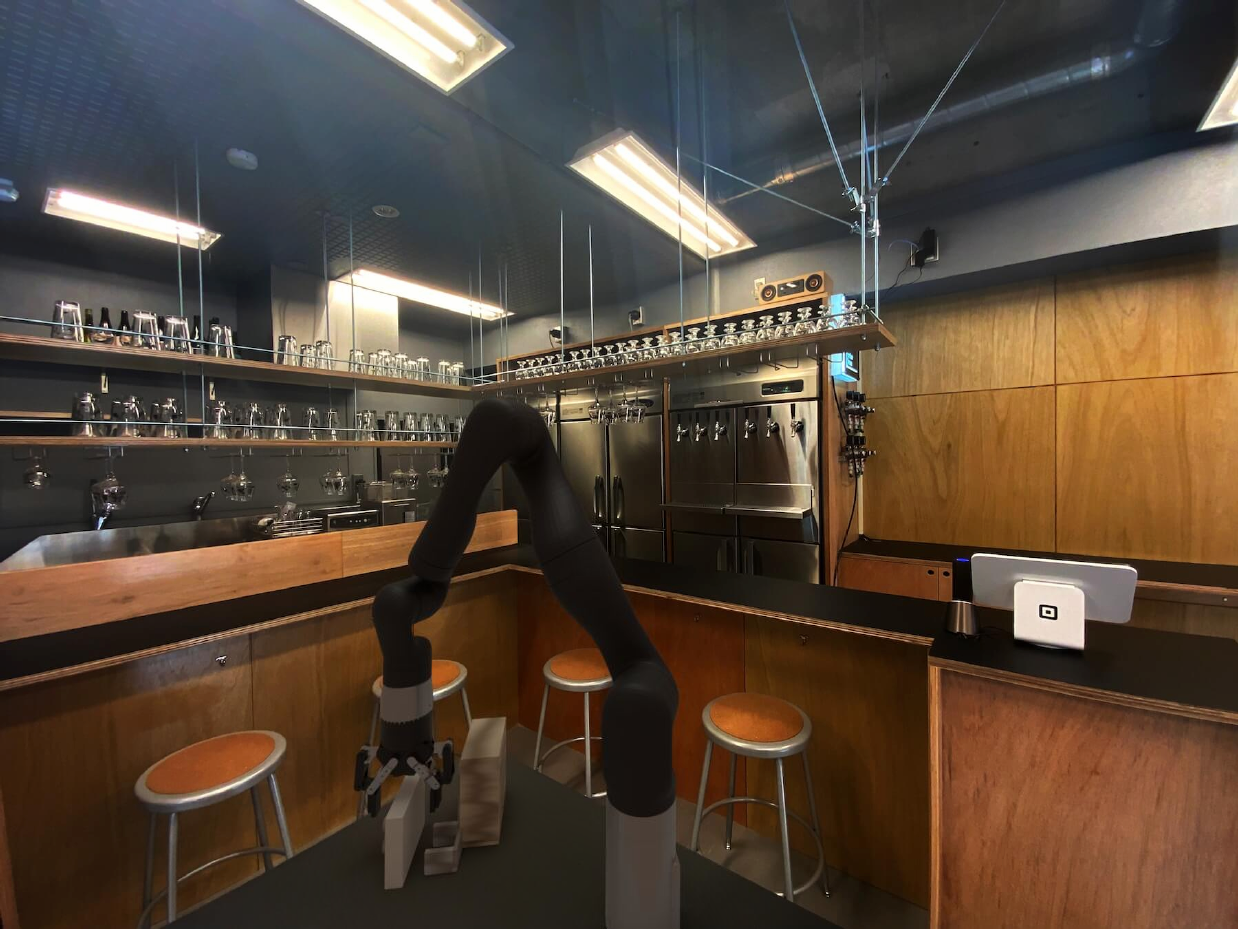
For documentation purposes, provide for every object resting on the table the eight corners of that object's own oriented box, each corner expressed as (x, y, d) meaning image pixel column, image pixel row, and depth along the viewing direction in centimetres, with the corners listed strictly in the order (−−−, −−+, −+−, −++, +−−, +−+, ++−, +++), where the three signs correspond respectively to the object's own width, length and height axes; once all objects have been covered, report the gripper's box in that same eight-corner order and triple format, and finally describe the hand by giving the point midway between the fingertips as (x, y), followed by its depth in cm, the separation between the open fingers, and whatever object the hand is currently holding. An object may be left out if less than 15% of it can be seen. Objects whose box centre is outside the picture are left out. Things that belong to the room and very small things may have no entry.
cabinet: (505, 792, 87) (506, 717, 87) (495, 867, 71) (496, 774, 71) (448, 798, 86) (448, 721, 86) (424, 875, 69) (425, 780, 70)
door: (402, 887, 68) (402, 817, 68) (375, 891, 67) (376, 820, 67) (424, 825, 79) (424, 765, 79) (401, 827, 79) (402, 767, 79)
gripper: (347, 723, 69) (345, 834, 69) (449, 717, 71) (447, 825, 71) (367, 698, 76) (365, 798, 76) (459, 693, 78) (457, 791, 78)
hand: (405, 811), depth 73 cm, fingers open, 8 cm apart
